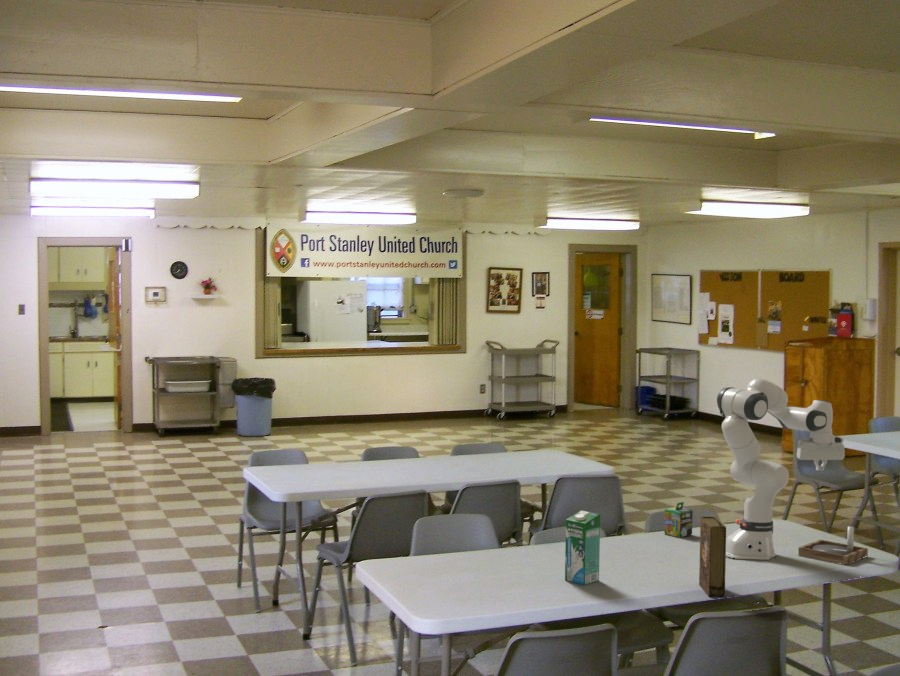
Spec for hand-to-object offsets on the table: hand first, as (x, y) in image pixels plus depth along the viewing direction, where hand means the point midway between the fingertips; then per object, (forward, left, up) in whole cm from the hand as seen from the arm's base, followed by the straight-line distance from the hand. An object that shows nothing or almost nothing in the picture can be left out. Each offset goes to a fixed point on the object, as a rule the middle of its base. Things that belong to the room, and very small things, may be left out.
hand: (820, 470), depth 418 cm
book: (-72, -58, -33) cm, 98 cm away
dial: (-2, -16, -31) cm, 35 cm away
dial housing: (-2, -16, -33) cm, 36 cm away
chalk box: (-52, +26, -33) cm, 67 cm away
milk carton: (-115, -41, -33) cm, 126 cm away
